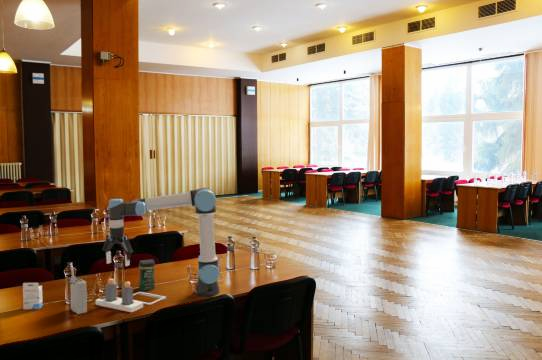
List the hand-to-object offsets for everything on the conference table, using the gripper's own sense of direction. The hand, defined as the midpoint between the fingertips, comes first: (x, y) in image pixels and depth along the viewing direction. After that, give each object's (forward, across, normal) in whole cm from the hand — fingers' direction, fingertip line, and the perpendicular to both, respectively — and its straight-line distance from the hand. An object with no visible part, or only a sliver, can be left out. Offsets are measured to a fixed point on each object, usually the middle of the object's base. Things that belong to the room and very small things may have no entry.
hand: (118, 264), depth 260 cm
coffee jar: (+23, +4, -28) cm, 36 cm away
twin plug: (+22, -10, +5) cm, 24 cm away
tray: (+23, -8, -11) cm, 27 cm away
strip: (+23, -4, +4) cm, 23 cm away
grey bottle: (+22, +2, +4) cm, 22 cm away
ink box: (+22, +37, +26) cm, 50 cm away
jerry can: (+22, +12, +18) cm, 32 cm away
